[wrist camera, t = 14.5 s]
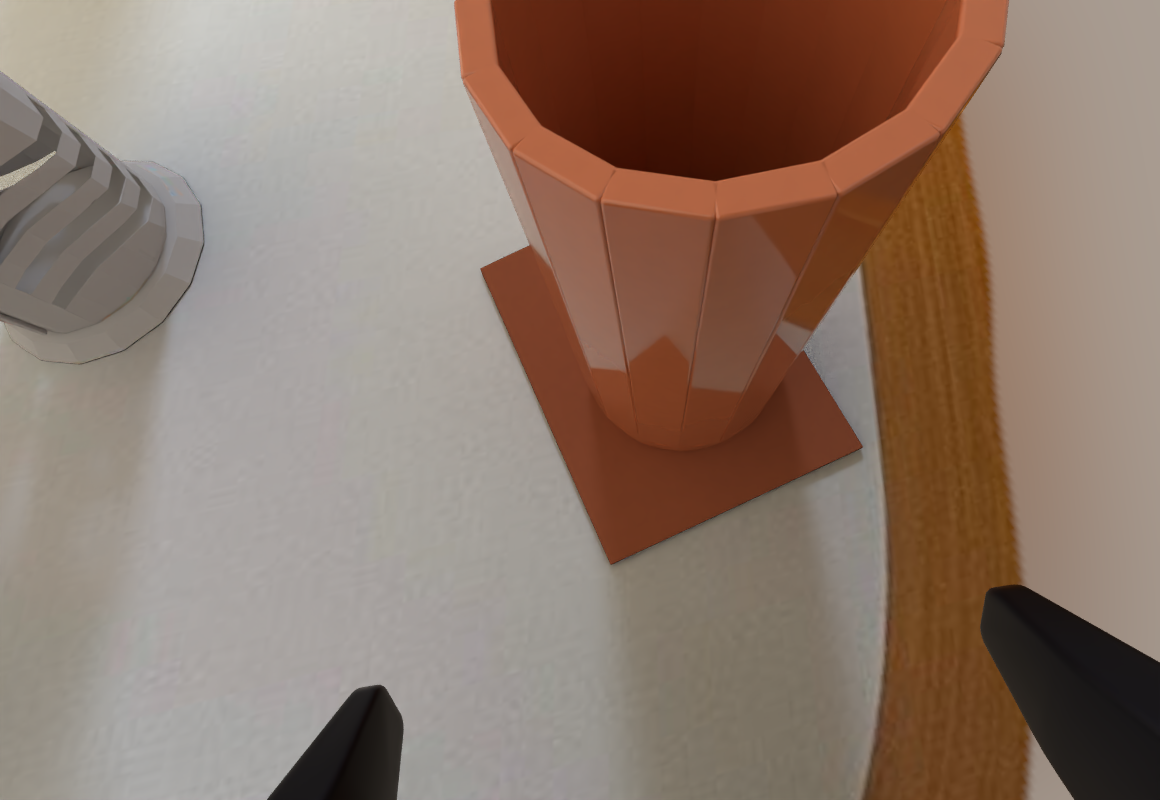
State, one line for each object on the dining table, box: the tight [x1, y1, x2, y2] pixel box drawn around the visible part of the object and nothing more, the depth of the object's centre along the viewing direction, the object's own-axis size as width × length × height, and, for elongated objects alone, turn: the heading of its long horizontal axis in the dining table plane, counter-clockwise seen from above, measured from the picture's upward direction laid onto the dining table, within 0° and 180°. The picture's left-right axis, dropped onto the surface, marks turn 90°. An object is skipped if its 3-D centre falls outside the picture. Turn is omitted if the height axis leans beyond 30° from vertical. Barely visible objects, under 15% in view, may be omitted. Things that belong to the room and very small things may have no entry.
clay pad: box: [481, 245, 863, 564], centre depth 21 cm, size 12×9×1 cm
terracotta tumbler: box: [454, 0, 1009, 451], centre depth 14 cm, size 7×7×14 cm
